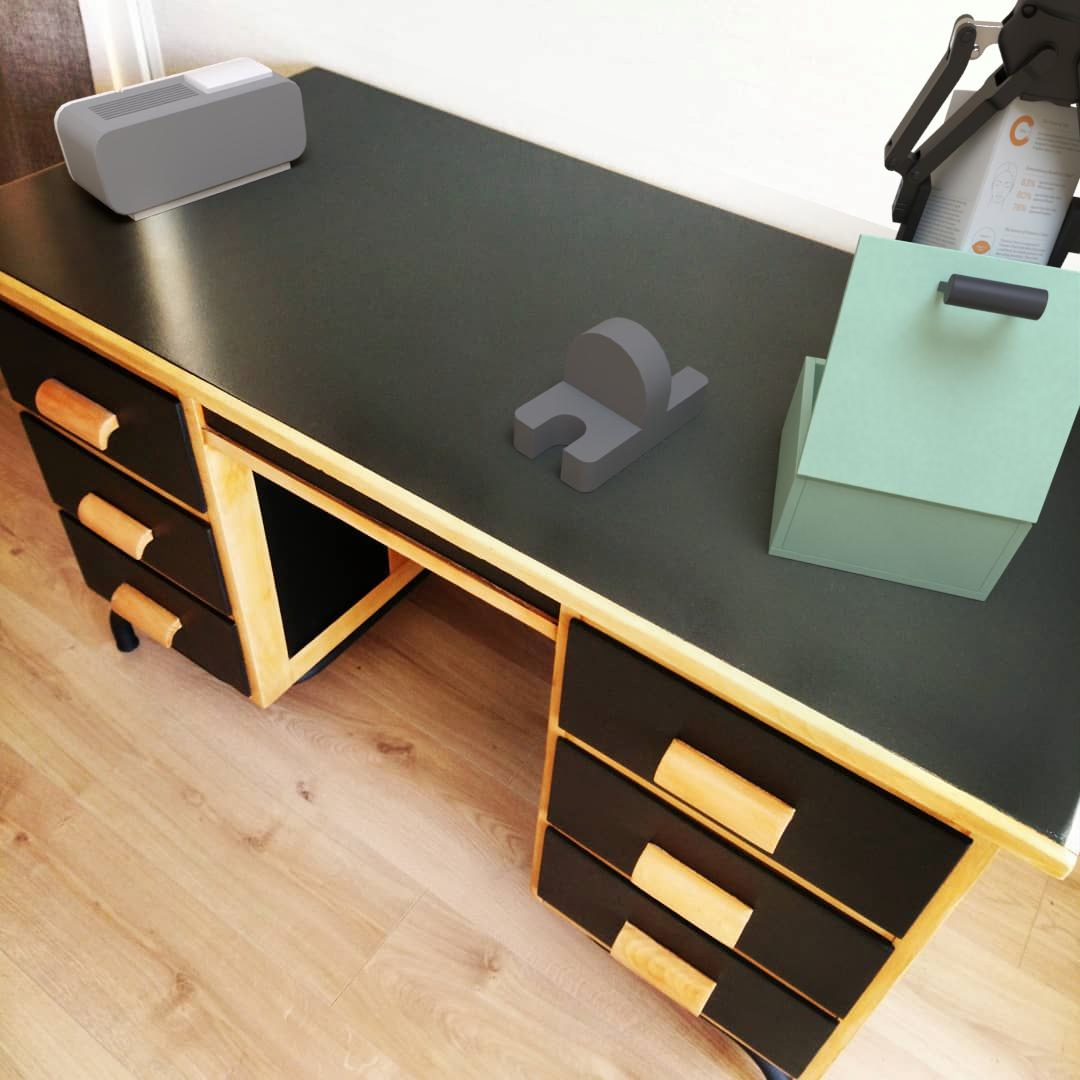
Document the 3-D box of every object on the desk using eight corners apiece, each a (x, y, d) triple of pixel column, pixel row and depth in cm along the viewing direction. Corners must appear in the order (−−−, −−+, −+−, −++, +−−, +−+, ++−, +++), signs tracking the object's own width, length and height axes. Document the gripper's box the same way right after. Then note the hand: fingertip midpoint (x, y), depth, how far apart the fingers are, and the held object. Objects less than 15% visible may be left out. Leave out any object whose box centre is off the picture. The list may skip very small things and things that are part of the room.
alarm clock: (269, 139, 127) (255, 46, 118) (310, 164, 123) (299, 68, 114) (77, 200, 113) (44, 99, 104) (116, 230, 109) (86, 127, 100)
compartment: (781, 431, 90) (806, 355, 84) (970, 469, 88) (1010, 394, 82) (767, 554, 79) (794, 477, 73) (984, 601, 77) (1032, 526, 70)
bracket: (507, 443, 87) (512, 346, 79) (631, 365, 96) (645, 272, 88) (585, 496, 83) (597, 399, 75) (706, 409, 92) (728, 314, 84)
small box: (977, 283, 75) (1041, 105, 69) (1034, 303, 69) (1109, 111, 64) (893, 272, 72) (952, 86, 66) (945, 292, 67) (1015, 92, 61)
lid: (859, 233, 67) (871, 234, 61) (1122, 279, 64) (1157, 283, 59) (795, 471, 73) (801, 491, 67) (1033, 520, 70) (1058, 545, 65)
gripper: (1301, -56, 56) (1113, 276, 72) (916, -105, 59) (819, 225, 75) (1342, -19, 51) (1130, 329, 67) (920, -75, 54) (814, 272, 70)
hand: (966, 274), depth 71 cm, fingers closed on small box, 10 cm apart
